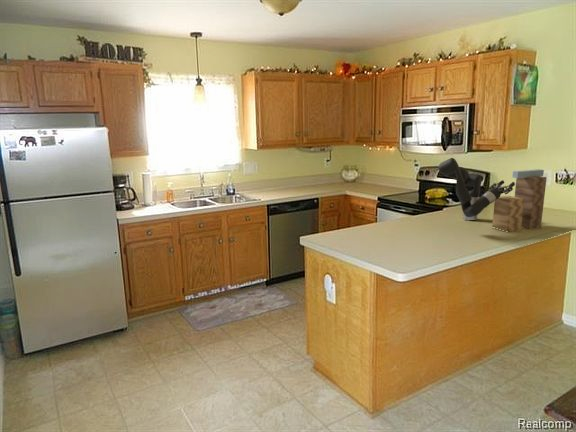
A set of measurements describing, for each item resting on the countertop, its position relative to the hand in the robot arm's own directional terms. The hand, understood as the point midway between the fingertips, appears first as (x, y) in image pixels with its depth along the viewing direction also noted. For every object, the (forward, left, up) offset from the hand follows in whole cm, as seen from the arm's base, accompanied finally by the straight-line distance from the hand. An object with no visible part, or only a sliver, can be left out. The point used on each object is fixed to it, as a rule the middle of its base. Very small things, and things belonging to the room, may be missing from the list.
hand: (508, 182), depth 270 cm
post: (+17, +8, -31) cm, 37 cm away
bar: (+14, +7, +3) cm, 16 cm away
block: (+2, +1, -31) cm, 32 cm away
